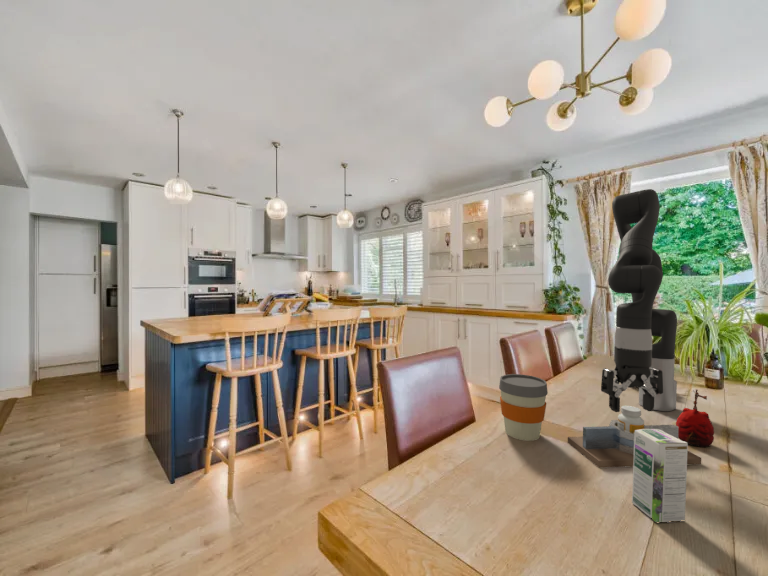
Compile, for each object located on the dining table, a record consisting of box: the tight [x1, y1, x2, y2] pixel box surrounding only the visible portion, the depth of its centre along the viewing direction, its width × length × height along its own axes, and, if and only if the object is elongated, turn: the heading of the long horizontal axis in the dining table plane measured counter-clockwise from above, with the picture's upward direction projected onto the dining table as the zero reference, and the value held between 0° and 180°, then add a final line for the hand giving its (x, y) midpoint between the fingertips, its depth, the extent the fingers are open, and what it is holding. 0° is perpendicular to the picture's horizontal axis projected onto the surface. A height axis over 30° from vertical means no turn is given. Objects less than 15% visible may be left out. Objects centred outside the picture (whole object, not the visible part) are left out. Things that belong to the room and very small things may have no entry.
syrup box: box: [631, 429, 689, 523], centre depth 63 cm, size 6×6×14 cm
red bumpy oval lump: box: [675, 389, 715, 448], centre depth 90 cm, size 8×7×15 cm
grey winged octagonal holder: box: [582, 419, 679, 455], centre depth 85 cm, size 24×8×5 cm, turn 94°
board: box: [567, 435, 702, 468], centre depth 85 cm, size 25×12×2 cm, turn 94°
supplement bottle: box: [617, 405, 645, 433], centre depth 85 cm, size 5×5×10 cm
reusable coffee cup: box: [499, 373, 549, 442], centre depth 95 cm, size 13×13×15 cm
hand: (631, 410), depth 85 cm, fingers open, 8 cm apart
